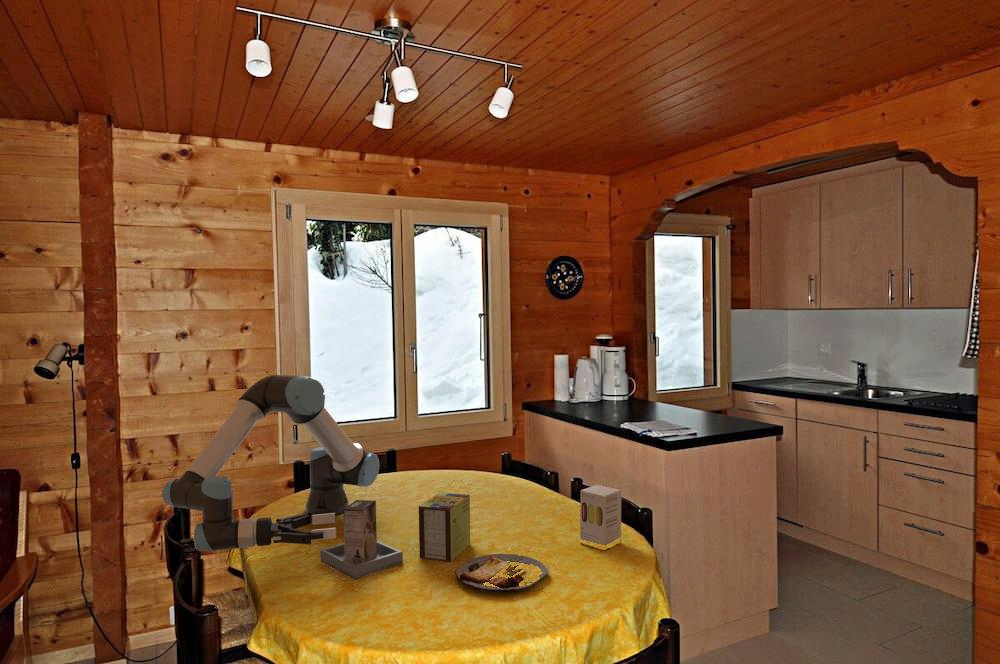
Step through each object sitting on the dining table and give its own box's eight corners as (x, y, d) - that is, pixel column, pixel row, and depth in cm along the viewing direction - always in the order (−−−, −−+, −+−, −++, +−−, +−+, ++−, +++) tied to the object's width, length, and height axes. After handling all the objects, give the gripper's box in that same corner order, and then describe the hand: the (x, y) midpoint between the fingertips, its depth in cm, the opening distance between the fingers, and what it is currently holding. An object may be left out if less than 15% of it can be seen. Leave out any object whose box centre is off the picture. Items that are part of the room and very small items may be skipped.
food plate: (514, 604, 163) (514, 590, 163) (438, 585, 176) (438, 571, 176) (560, 572, 184) (560, 559, 184) (490, 557, 197) (490, 545, 197)
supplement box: (579, 544, 204) (578, 489, 204) (596, 536, 211) (596, 483, 210) (605, 551, 198) (605, 495, 197) (622, 543, 205) (622, 489, 204)
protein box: (471, 544, 206) (470, 494, 205) (451, 562, 191) (450, 508, 190) (440, 540, 209) (439, 491, 208) (418, 558, 194) (417, 505, 194)
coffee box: (357, 552, 196) (356, 499, 195) (377, 554, 195) (376, 500, 194) (343, 564, 187) (342, 508, 186) (365, 566, 186) (364, 509, 185)
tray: (367, 547, 203) (367, 536, 203) (402, 563, 190) (402, 551, 190) (320, 562, 192) (320, 550, 192) (354, 580, 179) (354, 567, 179)
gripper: (260, 531, 195) (334, 524, 201) (252, 562, 171) (336, 553, 177) (260, 505, 195) (334, 499, 201) (251, 533, 171) (336, 525, 177)
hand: (335, 525), depth 189 cm, fingers open, 13 cm apart
